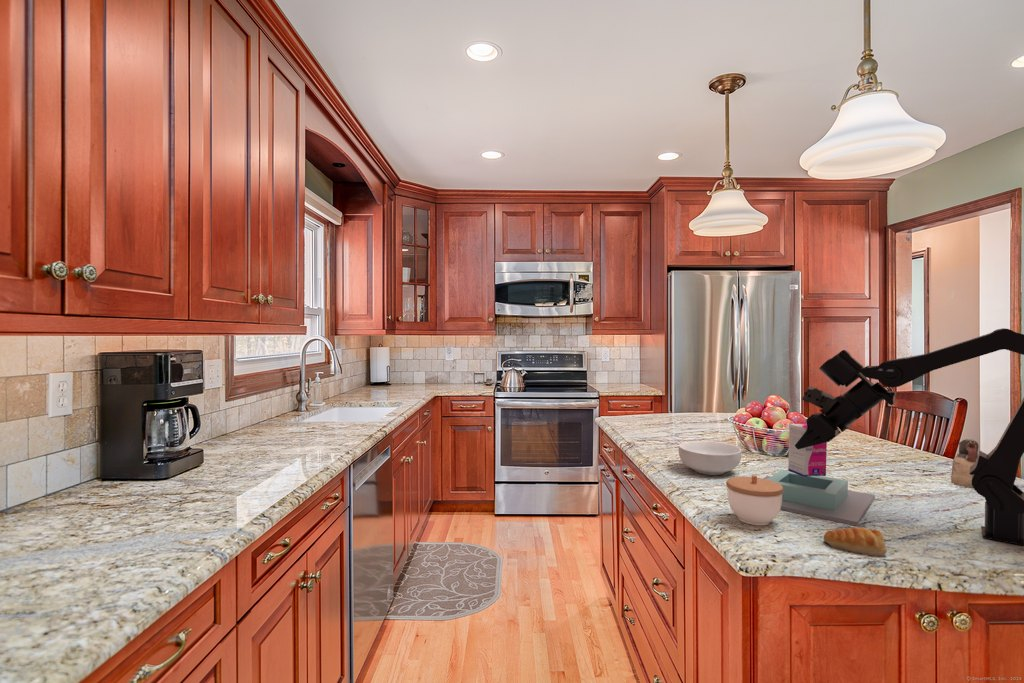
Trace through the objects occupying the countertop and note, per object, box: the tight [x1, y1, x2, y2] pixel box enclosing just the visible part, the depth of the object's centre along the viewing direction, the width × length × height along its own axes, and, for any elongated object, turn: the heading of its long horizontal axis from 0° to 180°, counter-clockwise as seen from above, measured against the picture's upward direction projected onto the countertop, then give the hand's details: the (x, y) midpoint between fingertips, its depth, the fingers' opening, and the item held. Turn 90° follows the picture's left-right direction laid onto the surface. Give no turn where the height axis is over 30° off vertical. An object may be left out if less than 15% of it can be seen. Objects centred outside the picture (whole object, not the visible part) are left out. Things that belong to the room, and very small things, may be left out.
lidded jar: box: [726, 474, 783, 526], centre depth 108 cm, size 11×11×9 cm
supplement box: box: [787, 423, 828, 477], centre depth 122 cm, size 6×6×12 cm
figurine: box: [950, 438, 980, 489], centre depth 134 cm, size 7×7×12 cm
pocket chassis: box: [762, 469, 876, 527], centre depth 122 cm, size 24×24×4 cm
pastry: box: [823, 526, 887, 557], centre depth 95 cm, size 9×7×4 cm
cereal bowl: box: [678, 440, 742, 476], centre depth 146 cm, size 17×17×7 cm
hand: (800, 444), depth 123 cm, fingers closed on supplement box, 8 cm apart
